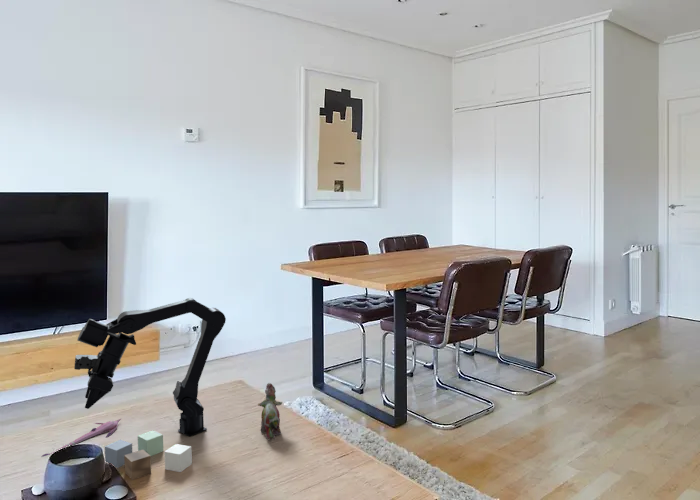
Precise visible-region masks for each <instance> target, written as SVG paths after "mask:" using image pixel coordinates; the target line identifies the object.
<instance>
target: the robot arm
mask: <svg viewBox="0 0 700 500" xmlns="http://www.w3.org/2000/svg"><path fill="white" fill-rule="evenodd" d="M189 313H191V314H193V315H195V316H197V318H200V319H201V325H200V336H199V339H198V342H197V344H196V347H195V349H194V353H193V354H192V358H191V360H190V364H189V366H188V369H187V372H186V375H185V377H184V379H183V380H182V381H179V380H176V384H175V388H174V390H173V391H172V395H173V401H174V402H175V404H176V405H175V406H177V409H178V410H180V411H181V412H180V415H179V416H180V418H179V428H178V429H177V432H179V433H182V434H183V435H185V436H188V437H192V436H194V435H197V434H200V433H202V432H206V431H207V430H208V428H207V427H205V425H204V407H203V405H202V404H201V402H200V400H199V399H198V396H199V395H198V393H199V384H200V383H199V382H200V379H201V376H202V373H203V371H204V368H205V366H206V363H207V361H208V357H209V354H210V351H211V349H212V347H213V343H214V341H215V339H216V338H217V337H218V335H220V333H221V331H222V330H223V328H224V326H225V324H226V320H227V319H226V316H225V314H224V313H223V312H222V311H221V310H219V309H218V308H217V307H208V306H206V305H204V304H202V303H200V302H198V301H197V300H195V299H194V298H193V297H188V298H186V299H182V300H180V301H179V300H178V301H175V302H172V303H168V304H165V305H161V306H157V307H154V308H149V309H140V310H139V309H138V310H137V309H136V310H127V311H122V312H121V313H119V315H118V317H117V318H116V319H114V320H112V321H110V322H108V323H106V324H104V323H101V322H99V321H96V320H95V319H94V318H93V319H92V318H89V319H88V320H87V322H86V323H85V325H84V326H82V329H81V330H80V332H79V335H78V337H77V341H78V342H81V343H83V344H85V345H89V346H92V347H94V348H98V347H101V346H103V345H104V346H103V348H102V350H100V351H98V353H97V355H96V354H76V355H75V357H74V358H75V359H74V367H73V368H74V370H75V371H76V370H78V371H79V370H87V375H88V377H89V378H88V381H87V389H86V392H85V395H84V397H85V399H86V402H85V406H84V408H85V409H87V410H88V409H90V408H91V407H93V406H94V405H95V404H96V403H97V402H98V401H100V400H101V399H102V398H103V397H105V396H106V395H107V394H109V393H111V392H112V389H113V388H114V382H113V377H114V376H115V371H116V369H117V367H118V366H119V365H120V363H121V362H122V361H121V360H122V357H123V355H124V353H125V352H126V350H127V348H128V346H129V344H130V345H134V346H137V342H136V341H137V340H135V334H134V333H136V332H138V331H140V330H143V329H144V328H146V327H148V326H149V325H151V324H154V323H157V322H161V321H164V320H168V319H171V318H175V317H179V316H183V315H187V314H189ZM106 340H107V341H106Z"/></svg>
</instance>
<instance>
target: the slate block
mask: <svg viewBox="0 0 700 500" xmlns="http://www.w3.org/2000/svg"><path fill="white" fill-rule="evenodd" d="M130 453H133V443H132V442H128V441H125V440H124V439H118V440H116V441H113V442H112V443H109V444H108V445H105V446H104V462H105V461H106V462H108V463H112V464H113V465H114V466H115V467H114V468H116V467H117V469H118V468H121V467H122V466H125V461H124V455H127V454H130Z"/></svg>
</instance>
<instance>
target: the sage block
mask: <svg viewBox="0 0 700 500" xmlns="http://www.w3.org/2000/svg"><path fill="white" fill-rule="evenodd" d="M140 450H144V451H145V452H147V453H148V454H149V455H150V457H152V456H156V455H157V454H160V453H162V452H164V435H163V434H162V433H160V432H158V431H156V430H150V431H147V432H145V433H144V432H143V433H142V434H139V435H137V451H140Z"/></svg>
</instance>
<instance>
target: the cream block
mask: <svg viewBox="0 0 700 500" xmlns="http://www.w3.org/2000/svg"><path fill="white" fill-rule="evenodd" d="M163 452H164V455H163V456H164V457H163V458H164V469H165V470H166V471H167V470H168V471H173V472H178V473H181V472H183V471H184V470H185V469H187V468H188V467H190V466H192V464H193V456H192V454H193V453H192V452H193V451H192V446H191V445H184V444H178V443H175V444H174V445H172V446H171V447H169V448H167V449H166V450H163Z"/></svg>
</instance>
